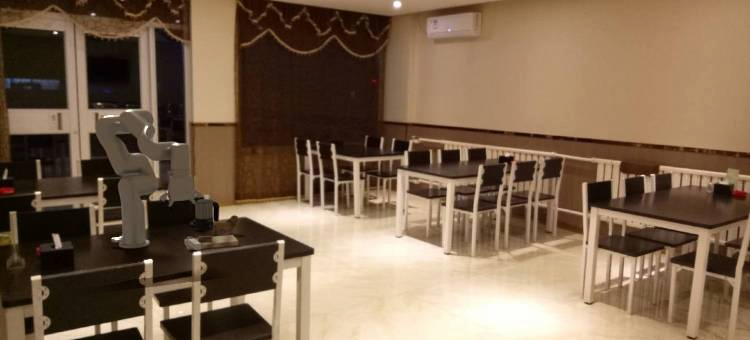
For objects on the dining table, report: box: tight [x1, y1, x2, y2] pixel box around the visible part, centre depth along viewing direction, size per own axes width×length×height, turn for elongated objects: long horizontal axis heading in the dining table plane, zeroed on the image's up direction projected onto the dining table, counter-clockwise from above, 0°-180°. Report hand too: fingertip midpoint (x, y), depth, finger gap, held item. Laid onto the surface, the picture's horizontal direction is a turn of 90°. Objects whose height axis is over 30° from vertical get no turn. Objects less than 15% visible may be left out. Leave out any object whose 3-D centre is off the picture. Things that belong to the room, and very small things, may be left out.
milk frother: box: [189, 198, 220, 232], centre depth 290 cm, size 14×16×15 cm
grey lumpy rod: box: [186, 236, 202, 251], centre depth 247 cm, size 13×3×3 cm, turn 36°
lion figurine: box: [209, 214, 239, 236], centre depth 278 cm, size 15×5×9 cm, turn 130°
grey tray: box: [184, 234, 239, 251], centre depth 259 cm, size 22×12×4 cm, turn 116°
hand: (181, 213), depth 239 cm, fingers open, 8 cm apart
